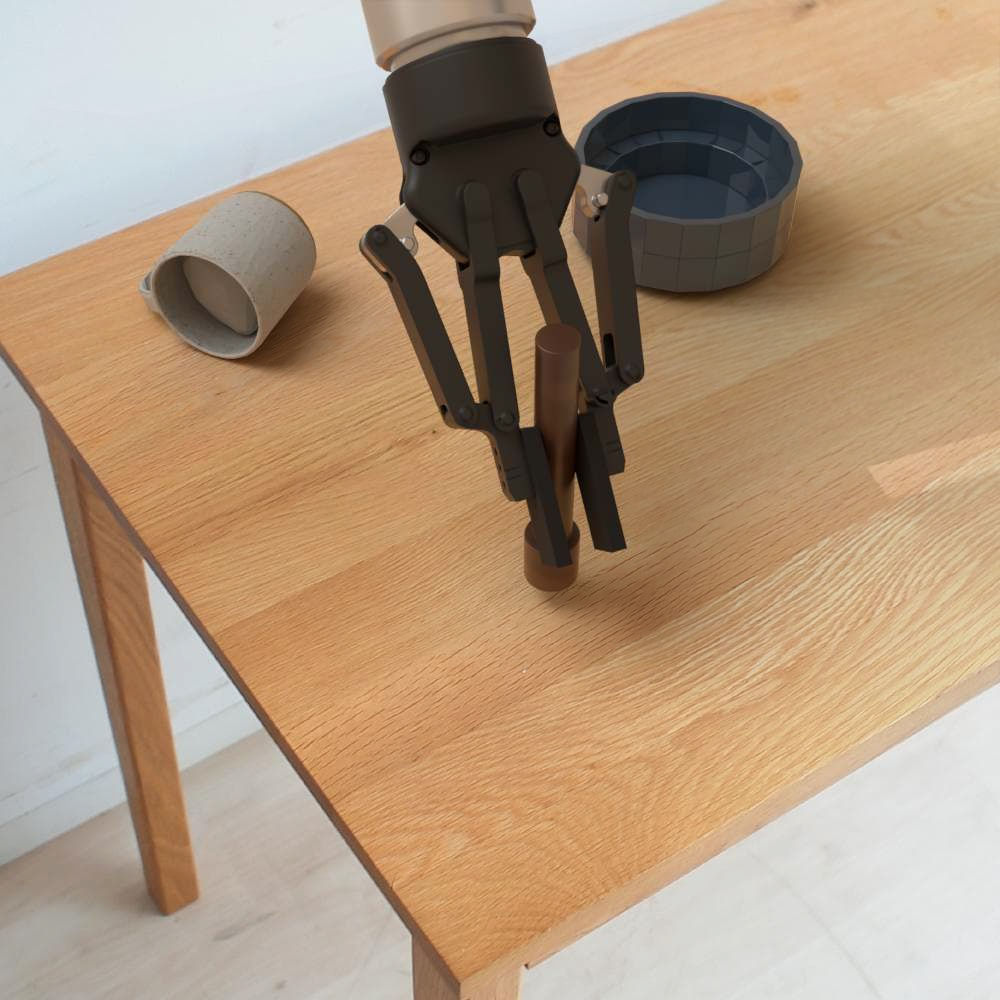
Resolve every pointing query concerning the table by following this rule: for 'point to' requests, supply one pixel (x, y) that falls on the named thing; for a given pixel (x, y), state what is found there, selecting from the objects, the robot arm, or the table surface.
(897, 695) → the table surface
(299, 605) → the table surface
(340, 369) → the table surface
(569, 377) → the brown pestle
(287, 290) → the ceramic mug
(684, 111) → the bowl
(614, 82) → the table surface
